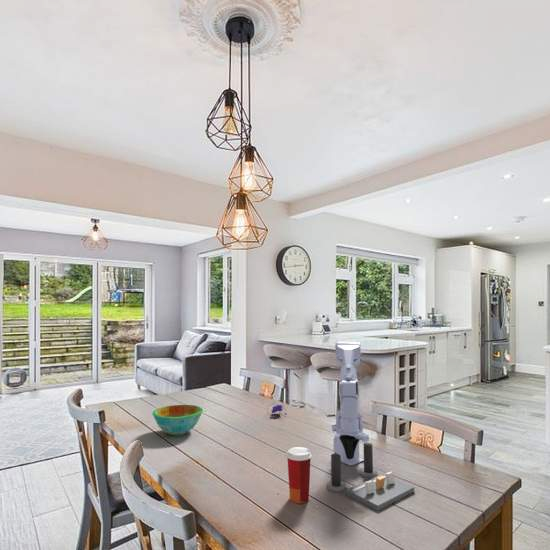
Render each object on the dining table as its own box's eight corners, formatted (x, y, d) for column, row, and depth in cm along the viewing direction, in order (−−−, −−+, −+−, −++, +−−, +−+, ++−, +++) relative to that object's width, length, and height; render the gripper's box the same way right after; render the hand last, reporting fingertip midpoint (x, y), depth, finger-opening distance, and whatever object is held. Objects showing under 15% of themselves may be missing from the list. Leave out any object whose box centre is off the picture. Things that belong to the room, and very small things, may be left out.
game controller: (265, 405, 210) (283, 401, 211) (269, 421, 207) (287, 416, 208) (266, 404, 200) (285, 400, 202) (270, 421, 198) (289, 416, 199)
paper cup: (310, 492, 121) (309, 446, 122) (313, 505, 113) (313, 455, 114) (285, 492, 121) (285, 446, 122) (286, 505, 113) (286, 456, 114)
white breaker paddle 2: (386, 483, 123) (385, 473, 124) (391, 481, 125) (390, 471, 125) (389, 484, 122) (388, 474, 123) (394, 482, 124) (393, 471, 124)
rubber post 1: (322, 487, 125) (322, 454, 125) (335, 481, 128) (335, 450, 129) (336, 494, 120) (336, 460, 121) (349, 488, 124) (349, 456, 124)
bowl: (141, 439, 169) (142, 415, 170) (167, 424, 190) (168, 403, 191) (189, 443, 163) (189, 419, 164) (210, 427, 185) (210, 405, 186)
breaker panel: (345, 494, 120) (345, 488, 120) (382, 478, 130) (382, 473, 131) (378, 511, 110) (377, 504, 110) (414, 492, 121) (414, 486, 121)
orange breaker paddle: (375, 487, 120) (376, 477, 120) (380, 484, 122) (381, 475, 122) (378, 489, 119) (379, 479, 119) (383, 486, 121) (384, 477, 121)
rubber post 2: (356, 473, 134) (355, 443, 135) (367, 469, 138) (366, 440, 139) (369, 479, 130) (369, 448, 130) (381, 474, 133) (380, 444, 134)
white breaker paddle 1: (366, 493, 117) (364, 482, 117) (371, 490, 118) (370, 480, 119) (369, 494, 116) (367, 483, 117) (374, 491, 117) (373, 480, 118)
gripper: (325, 414, 135) (326, 454, 134) (358, 424, 123) (359, 468, 122) (339, 410, 139) (340, 449, 138) (372, 420, 128) (373, 462, 127)
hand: (350, 458), depth 130 cm, fingers closed
